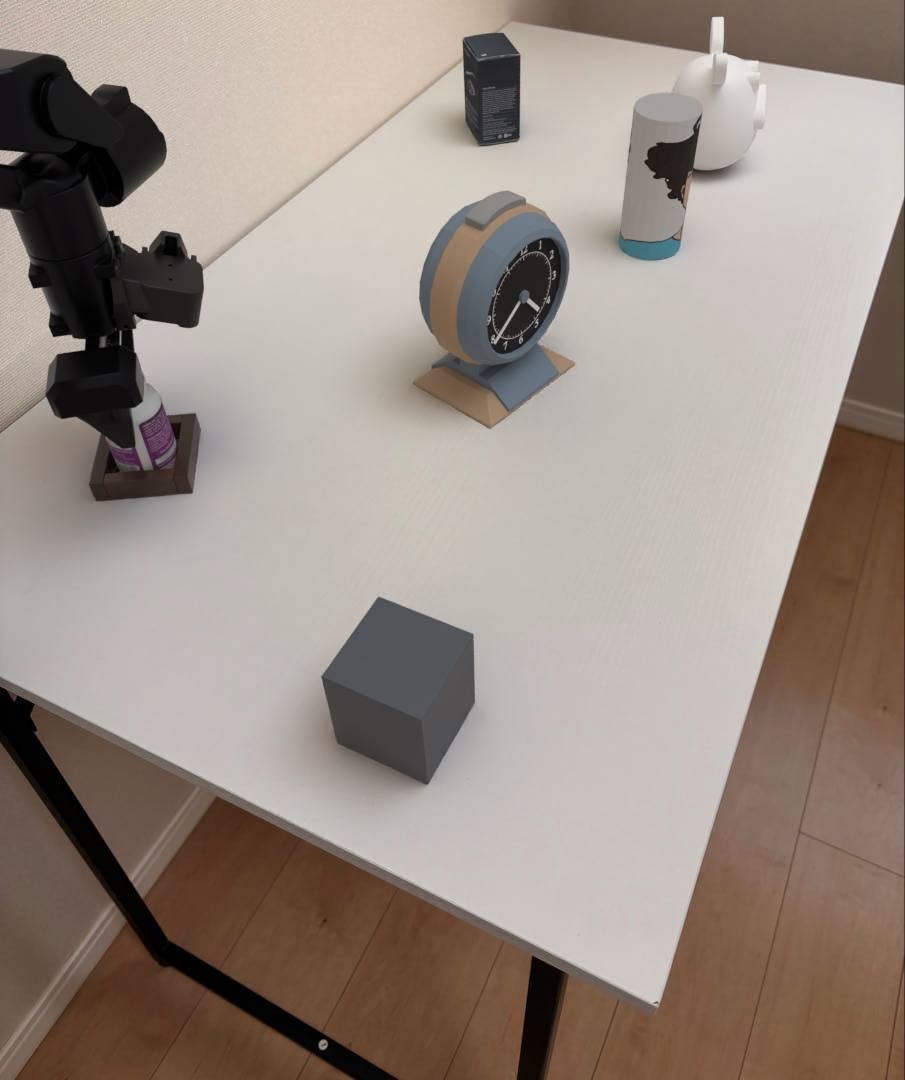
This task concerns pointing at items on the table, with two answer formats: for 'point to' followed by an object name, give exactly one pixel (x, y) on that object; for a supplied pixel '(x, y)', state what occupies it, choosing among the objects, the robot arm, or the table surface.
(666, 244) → the white cylinder
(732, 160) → the piggy bank
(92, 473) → the holder
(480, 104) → the box
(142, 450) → the pill bottle
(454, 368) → the alarm clock
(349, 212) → the table surface
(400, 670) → the block
